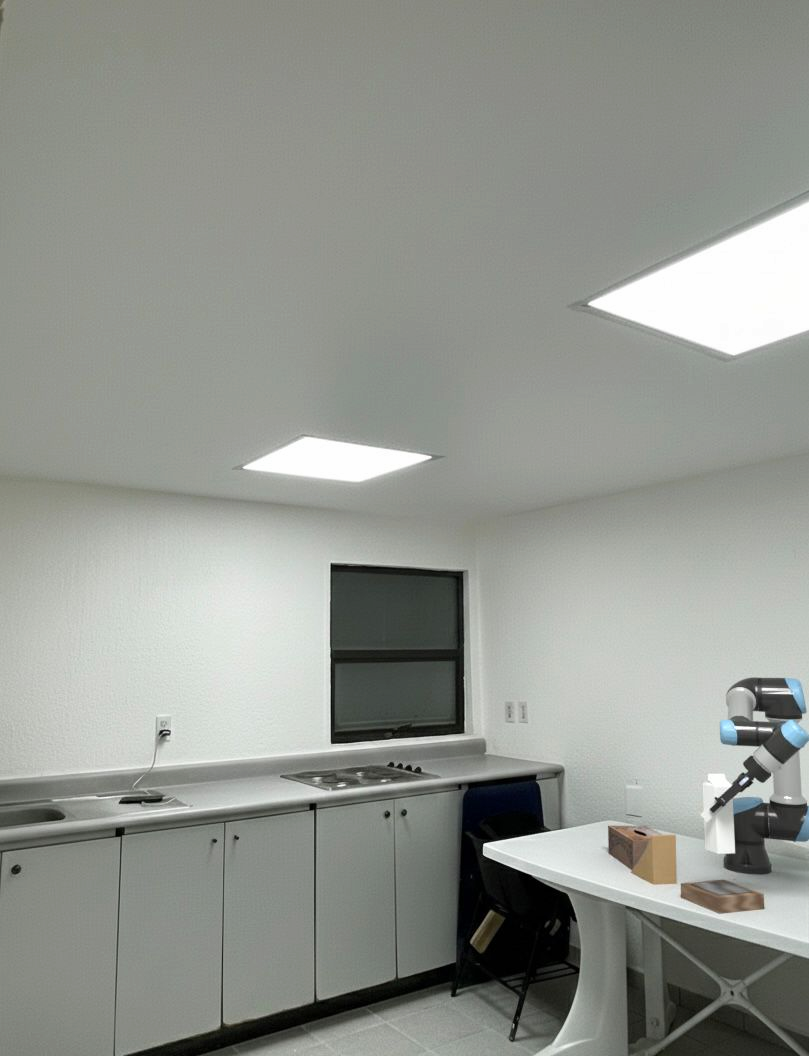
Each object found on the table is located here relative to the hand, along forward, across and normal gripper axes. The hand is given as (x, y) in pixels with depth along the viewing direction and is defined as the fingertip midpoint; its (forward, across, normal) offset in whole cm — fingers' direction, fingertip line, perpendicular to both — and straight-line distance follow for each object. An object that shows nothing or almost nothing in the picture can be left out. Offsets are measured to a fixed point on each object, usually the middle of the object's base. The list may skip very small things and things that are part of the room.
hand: (706, 815), depth 239 cm
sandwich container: (+32, +18, -3) cm, 37 cm away
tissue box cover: (+38, +37, +4) cm, 53 cm away
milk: (+5, 0, -9) cm, 10 cm away
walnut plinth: (+15, 0, -19) cm, 24 cm away
